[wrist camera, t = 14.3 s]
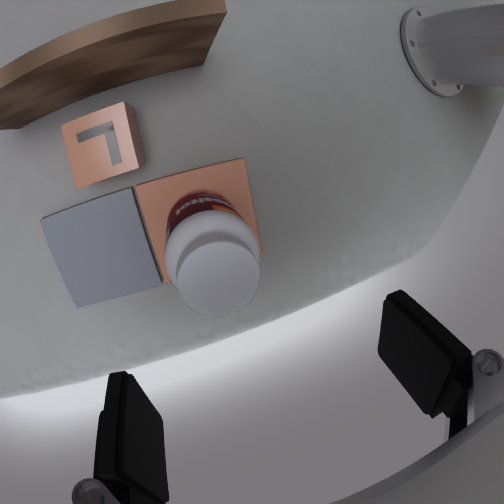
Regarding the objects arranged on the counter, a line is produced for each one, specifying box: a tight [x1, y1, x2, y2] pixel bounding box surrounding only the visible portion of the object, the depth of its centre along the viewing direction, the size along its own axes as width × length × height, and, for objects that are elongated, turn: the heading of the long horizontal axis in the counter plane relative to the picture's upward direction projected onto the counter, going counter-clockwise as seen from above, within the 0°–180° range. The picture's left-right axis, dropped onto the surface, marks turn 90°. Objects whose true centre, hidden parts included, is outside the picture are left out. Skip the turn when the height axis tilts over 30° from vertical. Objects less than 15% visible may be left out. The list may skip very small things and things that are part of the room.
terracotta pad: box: [135, 158, 262, 284], centre depth 26 cm, size 10×10×1 cm
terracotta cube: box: [61, 102, 146, 189], centre depth 20 cm, size 5×5×5 cm
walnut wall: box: [0, 0, 227, 130], centre depth 14 cm, size 18×1×12 cm, turn 101°
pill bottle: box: [165, 190, 260, 316], centre depth 21 cm, size 6×6×11 cm
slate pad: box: [40, 186, 162, 308], centre depth 25 cm, size 10×10×1 cm
